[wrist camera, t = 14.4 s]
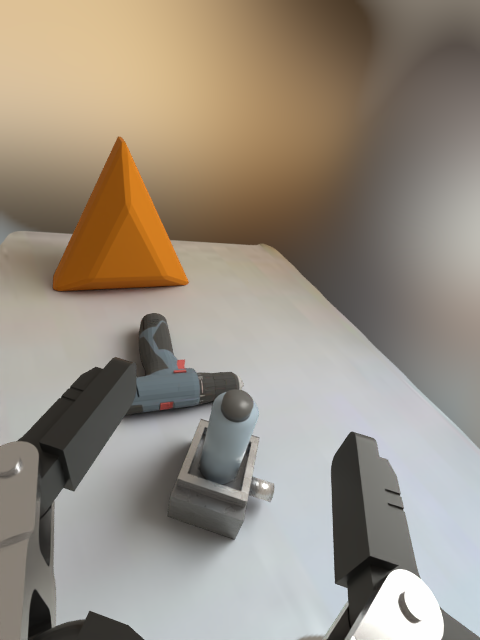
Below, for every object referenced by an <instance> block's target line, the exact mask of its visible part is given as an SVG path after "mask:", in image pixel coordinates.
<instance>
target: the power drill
mask: <svg viewBox="0 0 480 640" xmlns="http://www.w3.org/2000/svg"><path fill="white" fill-rule="evenodd" d="M139 350H140V355H141V360H142V364H143V366H144V368H145V371H146V376H142V377H136V395H135V398H134V401H133V403H132V405H131V407H130V408H129V410H128V411H127V413H126V414H134V413H141V412H149V411H157V410H164V409H172V408H180V407H188V406H194V405H198V404H204V403H208V402H211V401H214V400H215V399H216V398H217V397H218V396H219V395H220V394H222V393H224V392H228V391H230V390H233V389H238V390H242V387H243V386H244V383H242V380H241V378H240V377H238V376H237V375H235V374H234V373H232V372H220V373H196V372H195V370H194V369H192V368H184V364H185V360H177V358H176V357H175V356H174V354H173V349H172V344H171V339H170V334H169V329H168V325H167V321H166V319H165V317H164V316H162V315H160V314H157V313H152V314H147V315H146V316H144V317H143V319H142V320H141V325H140V331H139ZM126 414H125V415H126Z"/></svg>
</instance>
